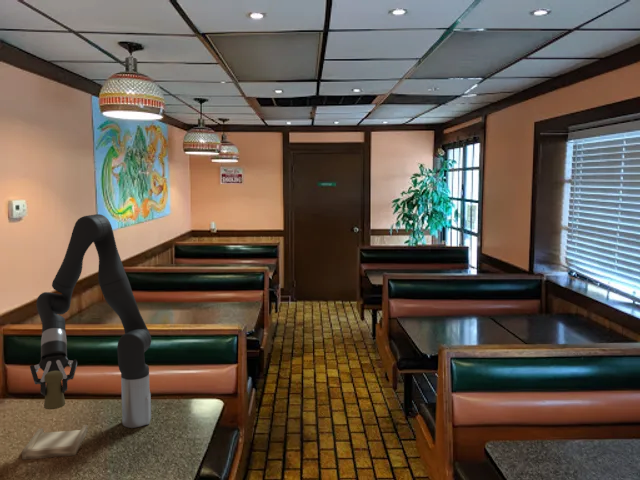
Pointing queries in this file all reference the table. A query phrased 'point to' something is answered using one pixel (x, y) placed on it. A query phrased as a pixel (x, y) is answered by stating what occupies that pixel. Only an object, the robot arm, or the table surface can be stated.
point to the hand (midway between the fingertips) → (54, 393)
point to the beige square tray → (54, 443)
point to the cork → (54, 390)
